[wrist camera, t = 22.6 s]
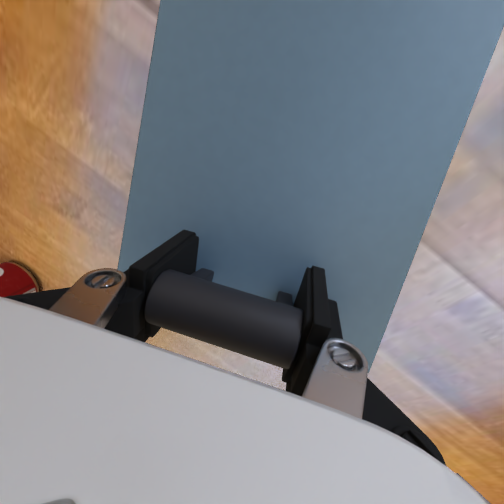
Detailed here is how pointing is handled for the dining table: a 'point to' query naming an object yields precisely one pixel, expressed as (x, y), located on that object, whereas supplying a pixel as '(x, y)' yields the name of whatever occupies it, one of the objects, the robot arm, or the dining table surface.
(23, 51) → the dining table surface
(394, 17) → the lid
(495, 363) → the dining table surface
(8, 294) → the soda can
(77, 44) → the dining table surface
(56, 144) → the dining table surface
